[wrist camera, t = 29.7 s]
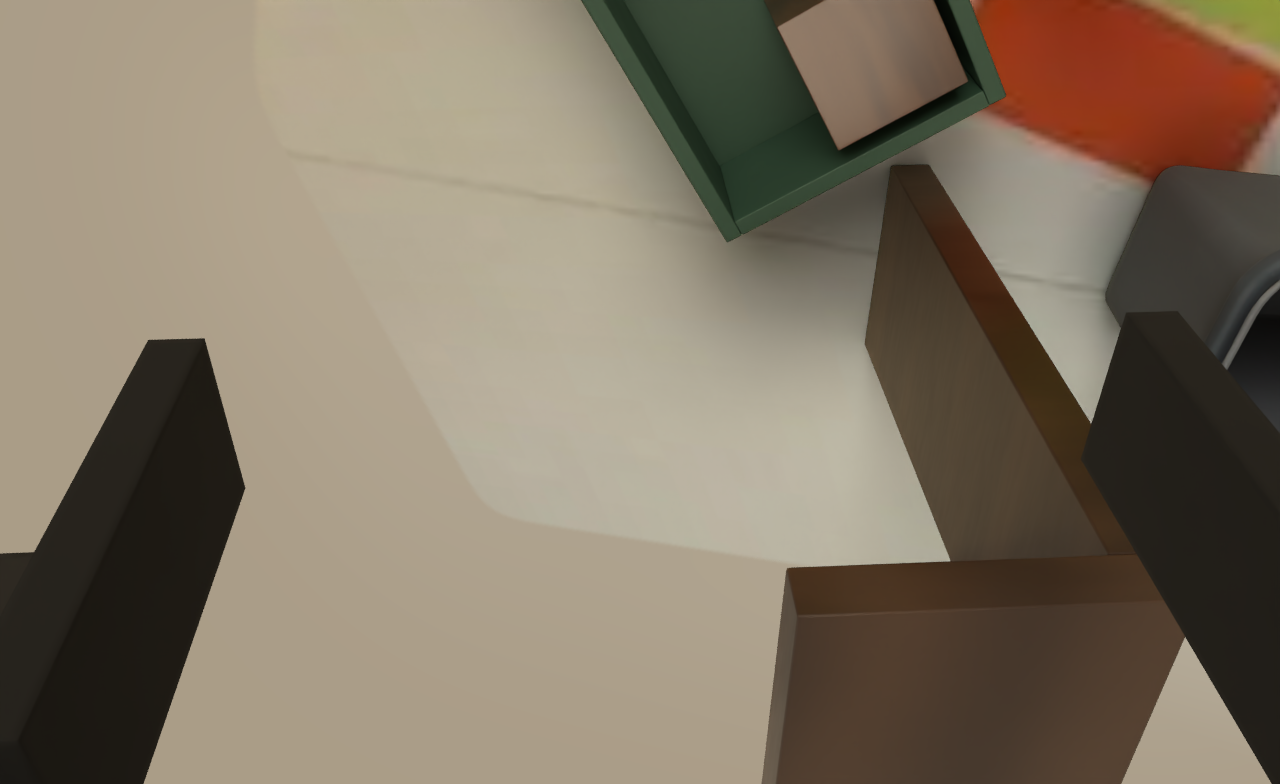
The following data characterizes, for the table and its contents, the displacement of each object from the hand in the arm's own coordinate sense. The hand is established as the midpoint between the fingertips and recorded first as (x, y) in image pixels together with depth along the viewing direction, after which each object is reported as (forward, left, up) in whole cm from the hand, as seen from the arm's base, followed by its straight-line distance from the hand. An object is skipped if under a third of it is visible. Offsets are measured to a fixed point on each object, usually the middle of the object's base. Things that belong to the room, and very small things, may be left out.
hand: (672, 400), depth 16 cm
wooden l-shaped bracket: (-1, -23, -39) cm, 45 cm away
